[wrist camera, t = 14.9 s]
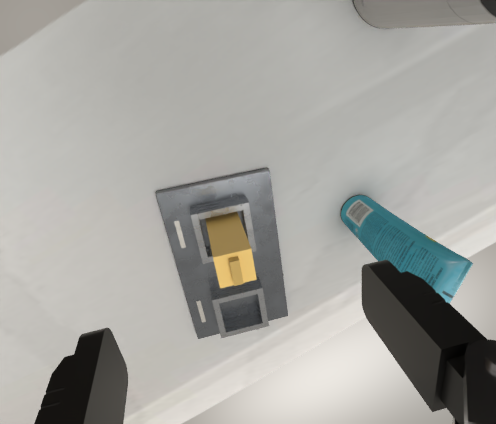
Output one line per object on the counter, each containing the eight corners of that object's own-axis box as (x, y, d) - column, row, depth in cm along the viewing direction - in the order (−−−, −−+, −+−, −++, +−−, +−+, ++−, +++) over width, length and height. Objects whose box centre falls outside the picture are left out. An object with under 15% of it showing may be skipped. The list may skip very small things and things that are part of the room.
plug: (235, 207, 45) (252, 252, 36) (240, 234, 47) (258, 284, 38) (204, 214, 45) (213, 261, 35) (210, 241, 47) (221, 293, 37)
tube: (364, 234, 52) (456, 327, 35) (333, 232, 51) (415, 327, 34) (380, 186, 49) (490, 264, 33) (348, 183, 48) (445, 262, 31)
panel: (267, 167, 45) (274, 177, 42) (286, 311, 56) (292, 327, 53) (156, 191, 44) (155, 202, 40) (197, 334, 54) (199, 351, 51)
